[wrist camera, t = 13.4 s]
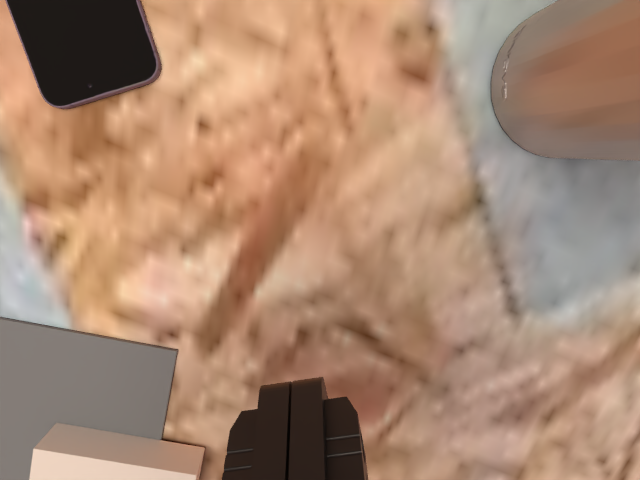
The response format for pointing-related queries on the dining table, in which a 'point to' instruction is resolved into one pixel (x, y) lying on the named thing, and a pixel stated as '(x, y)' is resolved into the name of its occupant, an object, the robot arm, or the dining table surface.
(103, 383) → the mat
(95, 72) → the smartphone
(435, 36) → the dining table surface
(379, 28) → the dining table surface
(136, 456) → the block
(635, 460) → the dining table surface
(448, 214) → the dining table surface
